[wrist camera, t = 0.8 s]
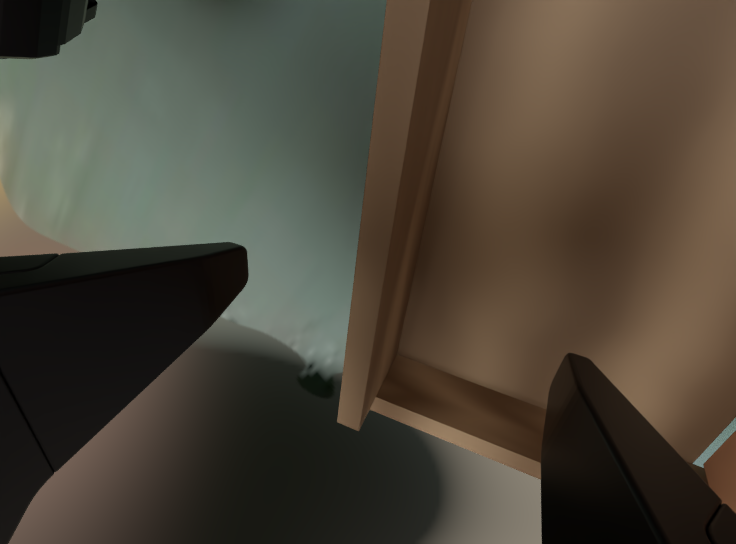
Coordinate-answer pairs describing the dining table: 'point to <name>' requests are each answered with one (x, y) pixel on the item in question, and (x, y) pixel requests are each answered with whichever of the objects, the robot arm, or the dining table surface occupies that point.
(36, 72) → the dining table surface
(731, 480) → the wooden panel
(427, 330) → the wooden box tray
